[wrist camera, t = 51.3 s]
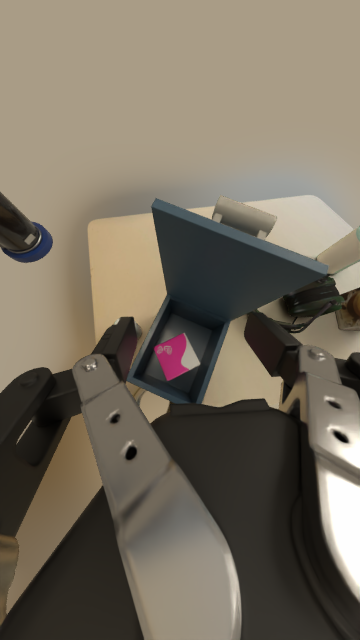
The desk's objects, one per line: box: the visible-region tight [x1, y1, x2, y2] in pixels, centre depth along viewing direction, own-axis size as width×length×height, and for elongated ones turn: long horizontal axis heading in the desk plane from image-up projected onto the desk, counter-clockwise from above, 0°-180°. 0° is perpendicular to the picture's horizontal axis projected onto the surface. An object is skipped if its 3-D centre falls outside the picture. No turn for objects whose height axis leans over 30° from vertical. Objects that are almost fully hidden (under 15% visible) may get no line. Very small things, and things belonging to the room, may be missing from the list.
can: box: [317, 226, 360, 274], centre depth 38 cm, size 7×7×12 cm
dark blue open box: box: [126, 294, 231, 404], centre depth 31 cm, size 17×13×10 cm
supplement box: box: [153, 333, 200, 381], centre depth 29 cm, size 6×6×12 cm
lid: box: [151, 196, 329, 321], centre depth 19 cm, size 18×13×5 cm
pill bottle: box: [114, 318, 142, 340], centre depth 32 cm, size 4×4×8 cm
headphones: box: [247, 274, 345, 333], centre depth 36 cm, size 13×13×20 cm
